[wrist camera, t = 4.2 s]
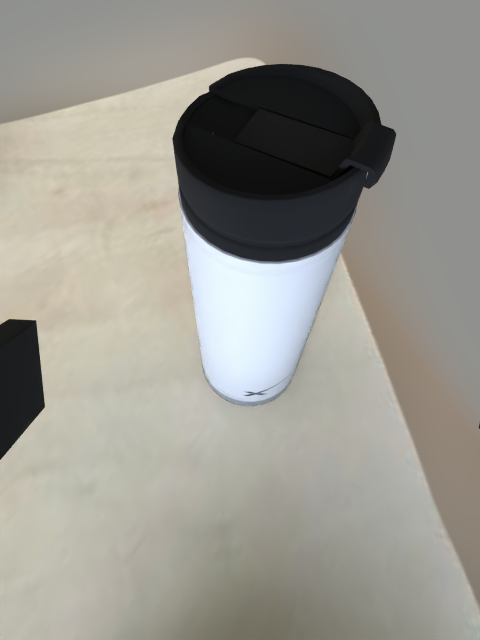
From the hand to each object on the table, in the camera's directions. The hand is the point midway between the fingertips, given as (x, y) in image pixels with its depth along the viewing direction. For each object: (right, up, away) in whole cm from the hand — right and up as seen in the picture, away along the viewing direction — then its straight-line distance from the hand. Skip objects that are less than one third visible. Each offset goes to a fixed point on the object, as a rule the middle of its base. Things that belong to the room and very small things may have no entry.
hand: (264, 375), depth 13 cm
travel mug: (0, -1, +18) cm, 18 cm away
